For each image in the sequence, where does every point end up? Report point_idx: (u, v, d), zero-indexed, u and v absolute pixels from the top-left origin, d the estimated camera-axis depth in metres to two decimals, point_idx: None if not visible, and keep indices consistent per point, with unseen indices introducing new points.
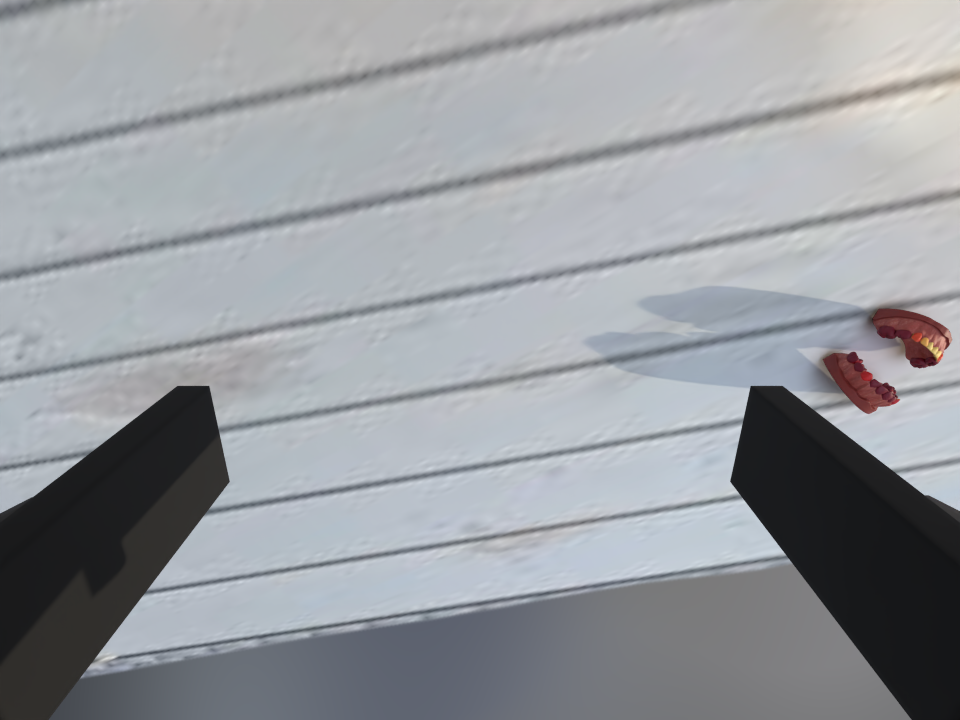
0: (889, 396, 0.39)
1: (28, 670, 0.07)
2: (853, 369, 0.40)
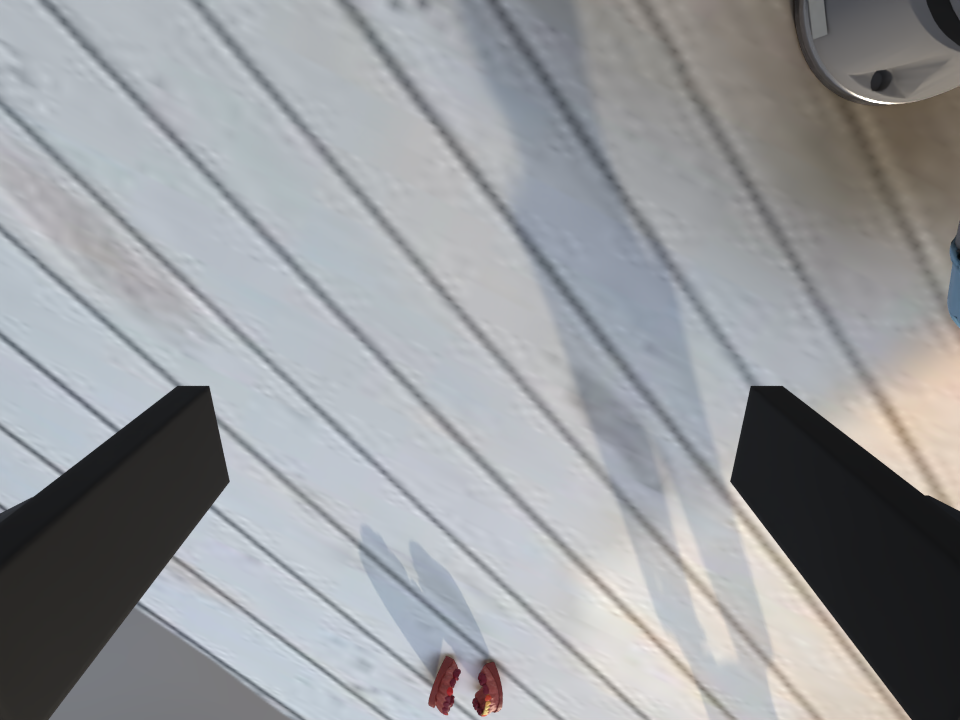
0: (445, 711, 0.55)
1: (28, 670, 0.07)
2: (449, 680, 0.56)
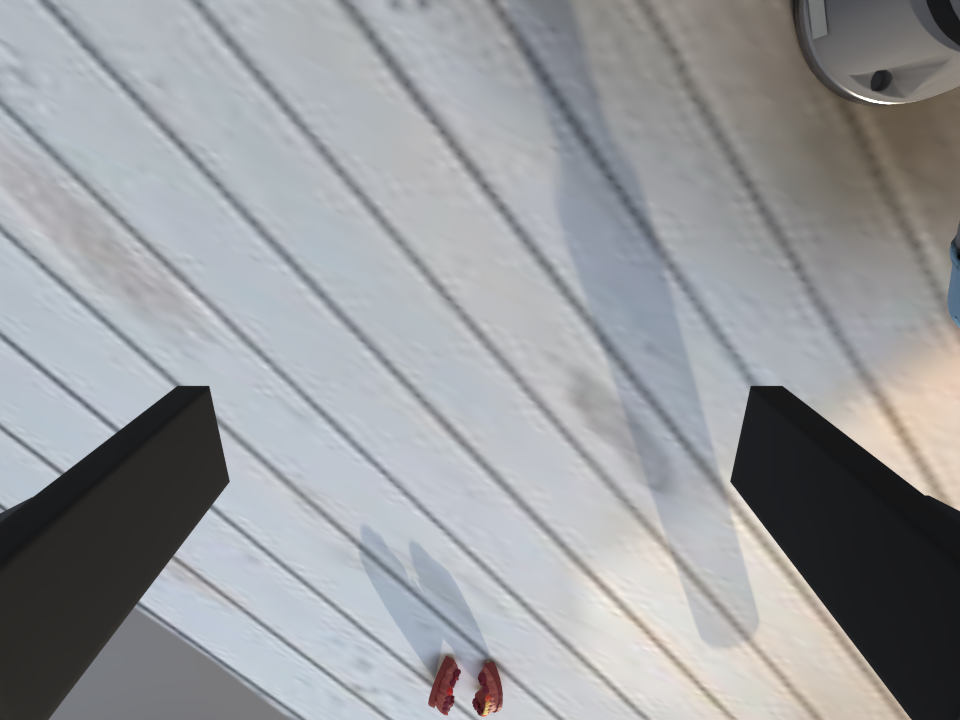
0: (445, 711, 0.55)
1: (28, 670, 0.07)
2: (449, 680, 0.56)
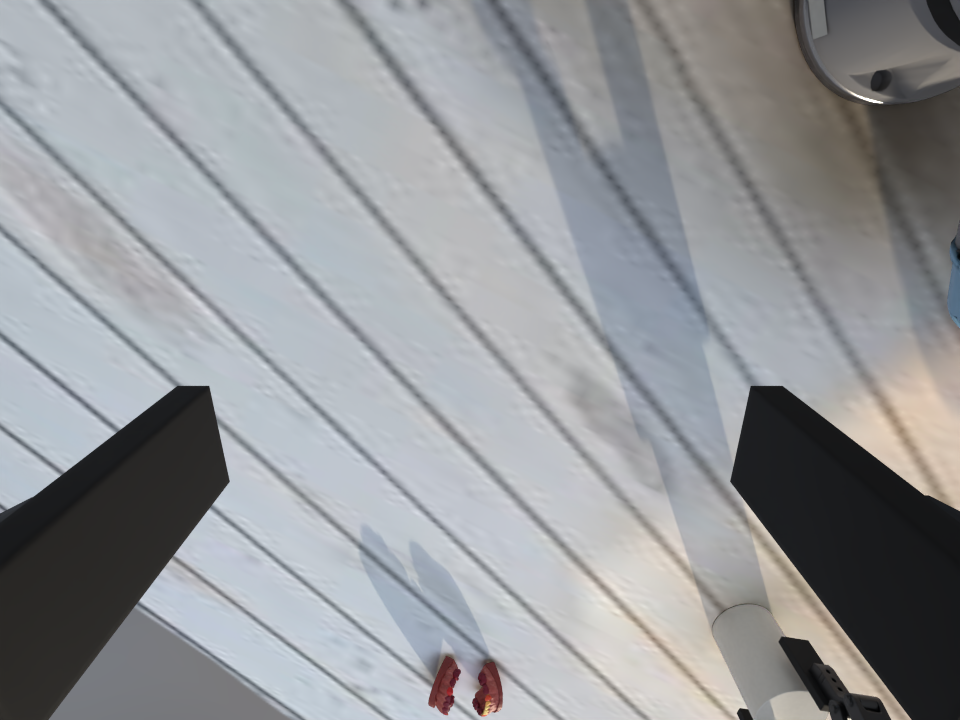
0: (445, 711, 0.55)
1: (28, 670, 0.07)
2: (449, 680, 0.56)
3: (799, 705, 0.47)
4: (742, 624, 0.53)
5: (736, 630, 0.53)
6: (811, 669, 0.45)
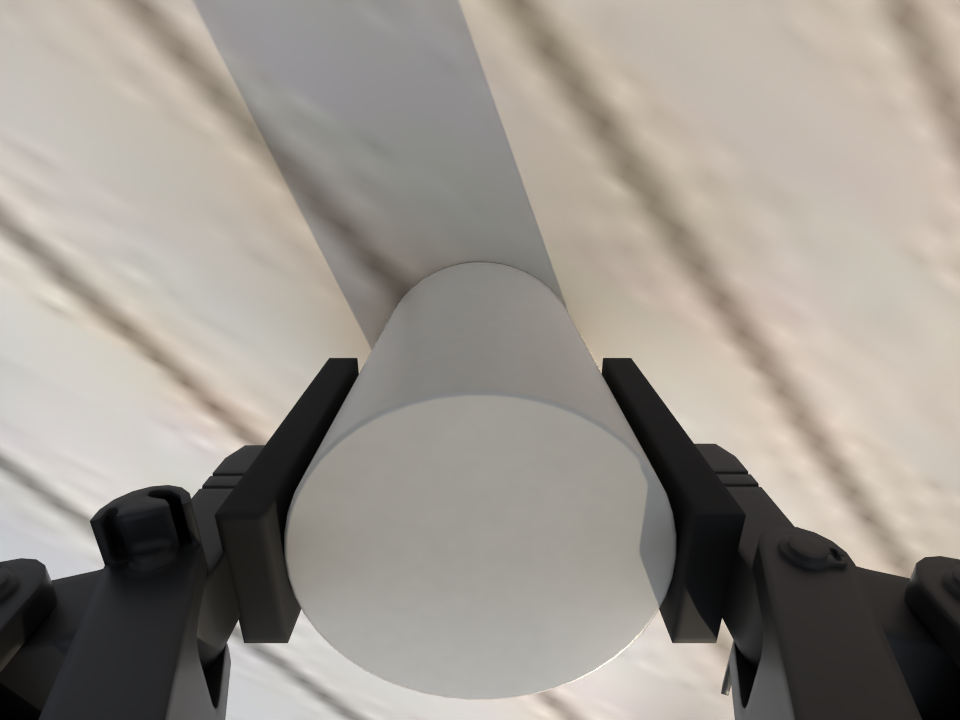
0: None
1: None
2: None
3: (503, 503, 0.08)
4: (422, 292, 0.15)
5: (398, 312, 0.14)
6: None
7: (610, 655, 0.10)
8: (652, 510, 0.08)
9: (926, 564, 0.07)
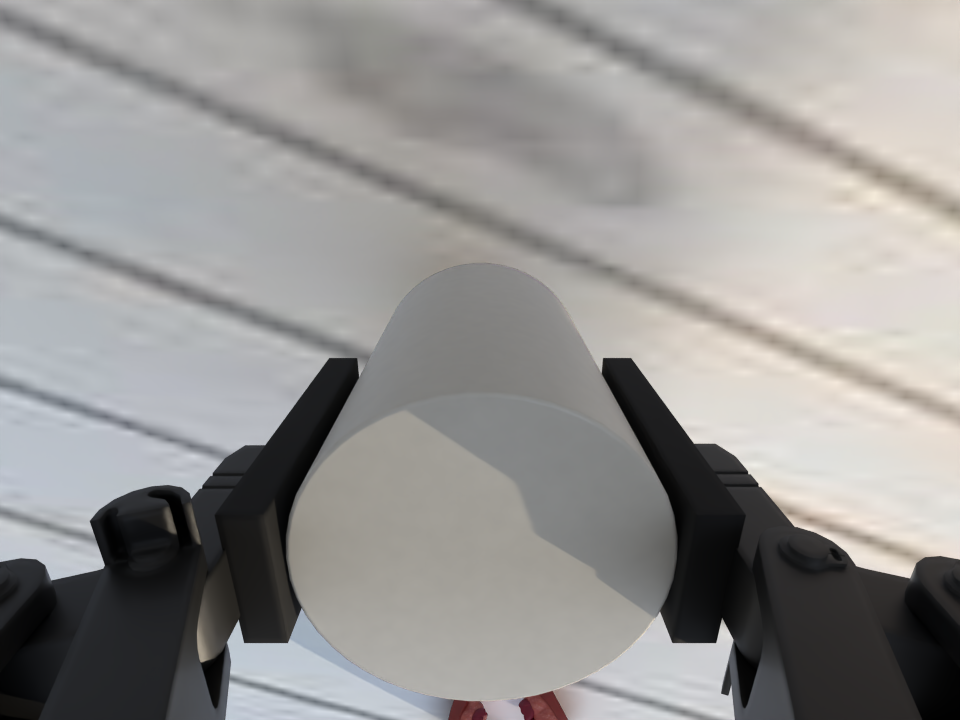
0: None
1: None
2: None
3: (505, 505, 0.08)
4: (423, 293, 0.15)
5: (398, 313, 0.14)
6: None
7: (612, 656, 0.10)
8: (653, 512, 0.08)
9: (926, 564, 0.07)
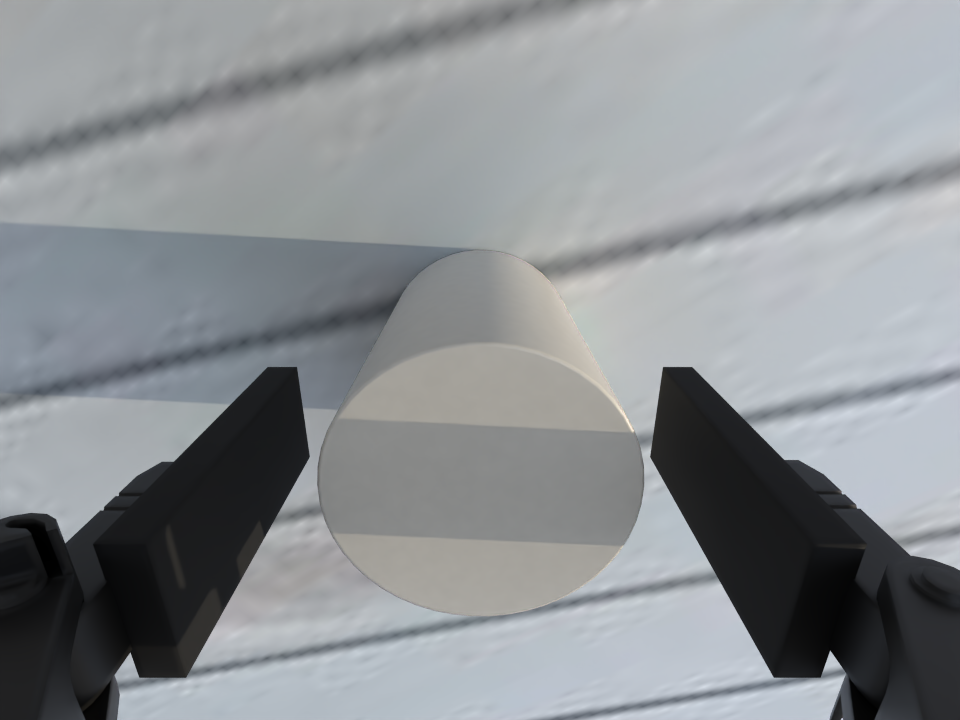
0: None
1: (190, 604, 0.08)
2: None
3: (500, 439, 0.10)
4: (428, 275, 0.16)
5: (407, 293, 0.16)
6: None
7: (591, 574, 0.11)
8: (623, 445, 0.10)
9: None
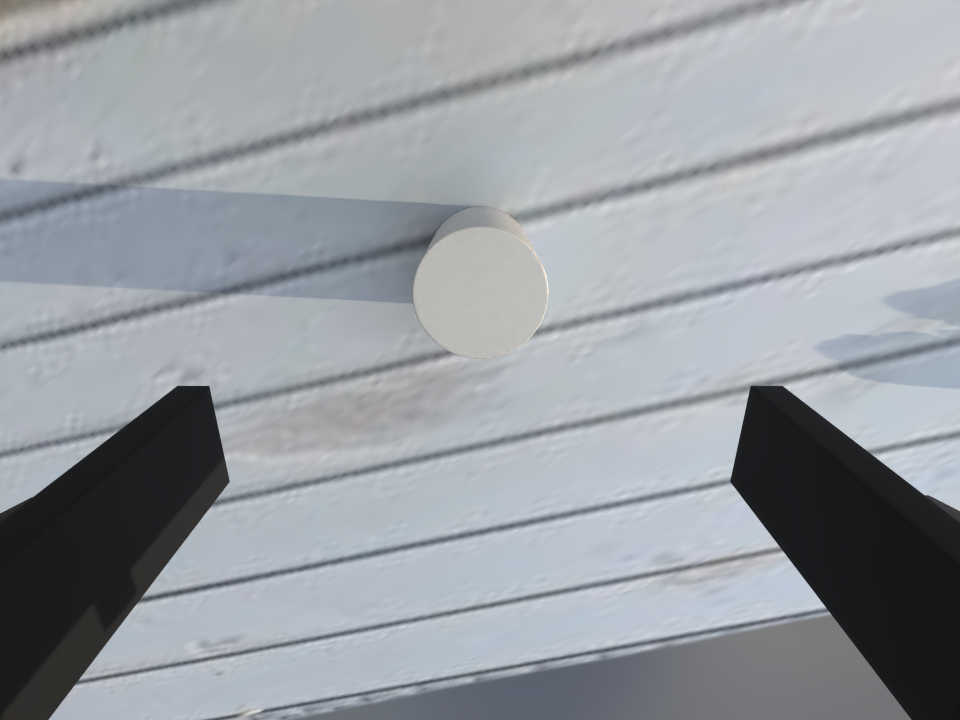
0: None
1: (28, 670, 0.07)
2: None
3: (488, 268, 0.25)
4: (453, 217, 0.31)
5: None
6: None
7: (528, 336, 0.26)
8: (538, 271, 0.25)
9: None
